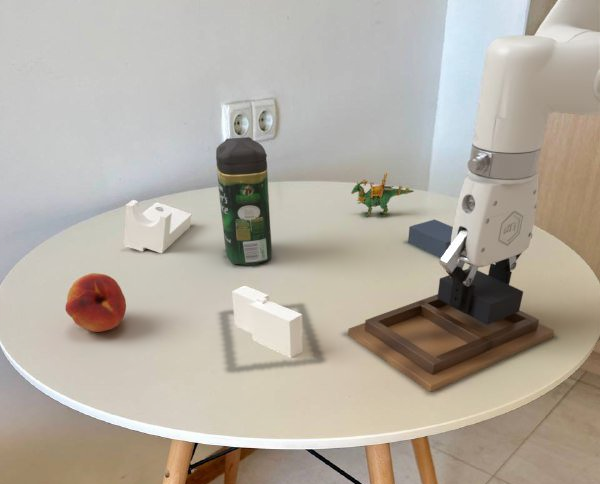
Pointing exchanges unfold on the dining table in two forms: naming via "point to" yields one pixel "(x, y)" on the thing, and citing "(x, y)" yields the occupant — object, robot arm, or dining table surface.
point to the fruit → (96, 302)
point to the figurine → (377, 195)
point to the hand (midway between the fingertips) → (478, 301)
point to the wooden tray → (445, 340)
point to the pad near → (486, 297)
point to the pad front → (431, 237)
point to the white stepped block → (268, 321)
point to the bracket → (154, 226)
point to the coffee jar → (244, 200)
